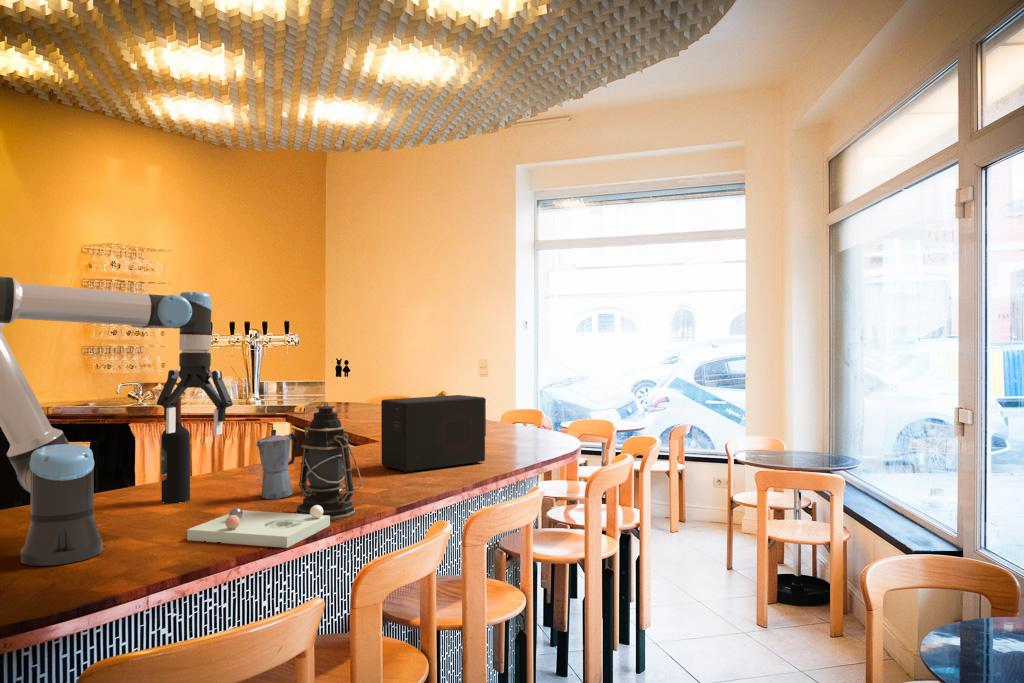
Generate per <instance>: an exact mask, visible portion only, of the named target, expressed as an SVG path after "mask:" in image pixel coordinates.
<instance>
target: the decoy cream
mask: <svg viewBox="0 0 1024 683" xmlns="http://www.w3.org/2000/svg"><path fill="white" fill-rule="evenodd" d="M310 514H311V516H312V517H313V518H320V517H321V516H322V515H323V508H322V507H321V506H319V505H315V506H313V507H312V508H311V510H310Z"/></svg>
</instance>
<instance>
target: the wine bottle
mask: <svg viewBox="0 0 1024 683" xmlns="http://www.w3.org/2000/svg"><path fill="white" fill-rule="evenodd" d="M173 406H174V407H176V419H175V432H174V433H166V429H164V430H163V432H162V433H161V435H160V436H161V437H160V438H161V440H160V442H161V443H160V444H161V448H160V449H161V454H160V455H161V456H160V458H161V459H160V460H161V462H160V463H161V464H160V466H161V471H160V472H161V476H160V477H161V484H160V486H161V488H160V489H161V496H160V497H161V501H162V502H164V503H163V504H165V503H176V504H180V503H179V502H183V503H186V502H185V501H187V502H189V501H188V500H191V434H190V432H189V431H190V430H188V429H187V428H186V427H185V426H183V424H182V397H181V396H180V397H179V399H178V400H177V401H176V402H175V404H174V405H173ZM162 502H161V503H162Z"/></svg>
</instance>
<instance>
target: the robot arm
mask: <svg viewBox="0 0 1024 683" xmlns="http://www.w3.org/2000/svg"><path fill="white" fill-rule="evenodd" d="M212 312H213V310H212V299H211V295H210V294H209V293H207V292H201V291H181V292H180V294H179V295H177V294H169V295H163V294H152V293H150V294H149V293H143V292H140V293H139V292H130V291H120V290H119V291H118V290H117V291H116V290H105V289H95V288H94V289H93V288H81V287H70V286H68V287H67V286H57V285H47V284H45V285H44V284H34V283H33V284H32V283H22V282H19V281H18V280H17V279H16V278H15V277H10V276H1V275H0V428H1V430H2V432H3V434H4V436H5V438H6V439H7V441H8V443H9V449H8V451H7V452H6V456H7V458H8V460H9V462H10V463H11V465H12V467H13V469H14V470H15V473H16V478H17V481H18V482H19V485H20V486H21V487H22V488H23V489H24V490H25V491H27V492H28V493H30V525H29V528H28V531H27V532H26V533H27V534H26V537H25V541H24V545H23V546H22V547H21V550H20V562H21V564H23V565H26V566H31V567H32V566H33V567H37V566H38V567H47V566H59V565H67V564H72V563H78V562H80V561H85V560H88V559H91V558H94V557H96V556H98V555H100V554H101V553H102V552H103V550H104V548H103V547H104V545H103V542H104V541H103V537H102V536H100V533H99V532H100V531H99V529H98V525H97V522H96V520H95V517H94V514H95V513H94V501H95V500H94V491H95V490H94V486H95V485H94V484H95V483H94V479H95V478H94V471H95V470H94V467H95V460H94V454H93V451H92V449H91V448H89V447H88V446H85V445H82V444H81V445H80V444H79V445H78V444H76V443H75V444H74V443H69V441H68V439H67V437H66V435H65V433H64V432H63V430H62V429H58V428H55V427H53V426H52V425H51V422H50V421H49V419H48V418H47V415H46V413H45V412H44V410H43V408H42V406H41V404H40V402H39V401H38V399H37V397H36V395H35V393H34V390H33V389H32V387H31V385H30V383H29V381H28V379H27V378H26V375H25V373H24V372H23V370H22V368H21V366H20V364H19V362H18V361H17V360H18V359H17V358H16V356H15V355H14V353H13V351H12V349H11V347H10V345H9V343H8V341H7V339H6V337H5V335H4V334H3V329H4V327H5V325H6V324H12V323H14V322H15V321H17V320H27V321H30V320H31V321H45V322H46V321H49V322H65V323H66V322H67V323H85V324H101V325H103V324H106V325H124V326H130V327H132V328H139V329H179V340H178V342H179V347H178V350H179V351H181V352H180V353H179V356H178V360H179V361H178V365H179V369H180V370H178V369H170V370H168V373H167V380H166V381H165V383H164V385H163V388H162V390H161V392H160V394H159V396H158V399H157V401H156V405H157V406H161V407H163V419H164V421H165V423H166V424H165V426H166V427H165V430H166V433H174V432H175V419H176V407H174V406H173V405H174V404H175V402H176V401H177V400H178V399H179V397H181V396H182V395H183V394H184V392H185V391H186V389H189V388H195V389H198V388H199V389H201V390H203V392H204V393H205V394H206V395H207V396H208V398H209V399H210V401H212V403H213V405H214V406H215V409H213V436H219V435H222V434H223V430H224V429H223V425H224V424H223V422H225V421H226V411H227V410H226V409H227V408H230V407H233V400H232V398H231V396H230V393H229V392H228V389H227V387H226V384H225V382H224V380H223V375H222V371H221V370H213V371H211V369H210V368H211V366H212V356H211V353H210V352H209V351H211V348H212ZM179 378H180V381H179V382H178V379H179ZM210 379H212V382H213V384H214V387H215V388H214V387H213V384H212V383H211V381H210ZM177 382H178V383H177ZM176 384H177V385H176ZM175 386H176V387H175ZM174 388H175V389H174Z"/></svg>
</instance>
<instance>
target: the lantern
mask: <svg viewBox="0 0 1024 683" xmlns="http://www.w3.org/2000/svg"><path fill="white" fill-rule="evenodd" d="M335 408H336V406H334V405H329V402H327V401H326V402H324V403H323V405H320V406H316V407H315V409H318V411H317V412H314V413H313V419H312V420H311V422H310V425H309V426H307V427H304V429H303V430H304V437H305V439H303V441H302V445H300V448H302V456H301V463H300V465H301V466H300V474H299V483H298V486H299V488H300V490H301V492H302V495H303V499H302V503H301V504H299V505H297V507H296V513H295V514H310V510H311V508H312V507H313V506H315V505H319V506H321V507H322V508H323V515H326V516H330V521H336V520H341V519H347V518H348V517H351V516H353V515H355V514H356V508H355V503H354V502H352V501H350V500H351V498H352V497H353V495H354V493H355V491H359V489H361V487H362V486H363V481H362V476H361V474H360V469H359V467H358V464H357V462H356V459H355V456H354V455H353V454H354V453H353V451H352V449H351V443H349V434H347V433H344V430H347V429H348V427H346V426H343V425H342V423H341V420H340V419H339V418H338V412H337V411H334V410H333V409H335ZM350 455H351V457H352V459H353V462H354V466H356V470H357V473H358V476H359V477H358V478H359V481H360V484H359V485H358V487H357V488H354V483H353V482H354V481H353V475H352V466H351V458H350ZM342 481H344V483H341V482H342ZM308 484H309V485H308ZM340 489H342V490H345V493H344V494H343V493H341V492H340V491H339V490H340Z"/></svg>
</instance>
